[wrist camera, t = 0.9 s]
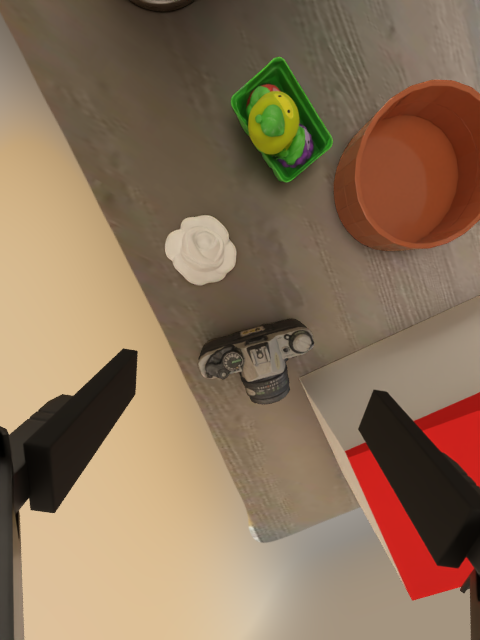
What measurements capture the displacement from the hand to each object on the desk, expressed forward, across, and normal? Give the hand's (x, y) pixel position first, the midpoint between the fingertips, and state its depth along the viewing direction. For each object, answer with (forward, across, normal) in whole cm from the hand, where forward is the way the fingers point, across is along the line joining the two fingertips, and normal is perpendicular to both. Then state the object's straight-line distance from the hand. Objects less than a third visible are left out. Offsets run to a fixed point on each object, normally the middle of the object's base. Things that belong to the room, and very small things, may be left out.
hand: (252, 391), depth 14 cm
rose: (+27, -8, +5) cm, 28 cm away
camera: (+26, +3, -10) cm, 27 cm away
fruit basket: (+29, 0, +20) cm, 35 cm away
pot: (+29, +18, +18) cm, 39 cm away
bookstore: (+26, +31, -11) cm, 42 cm away
